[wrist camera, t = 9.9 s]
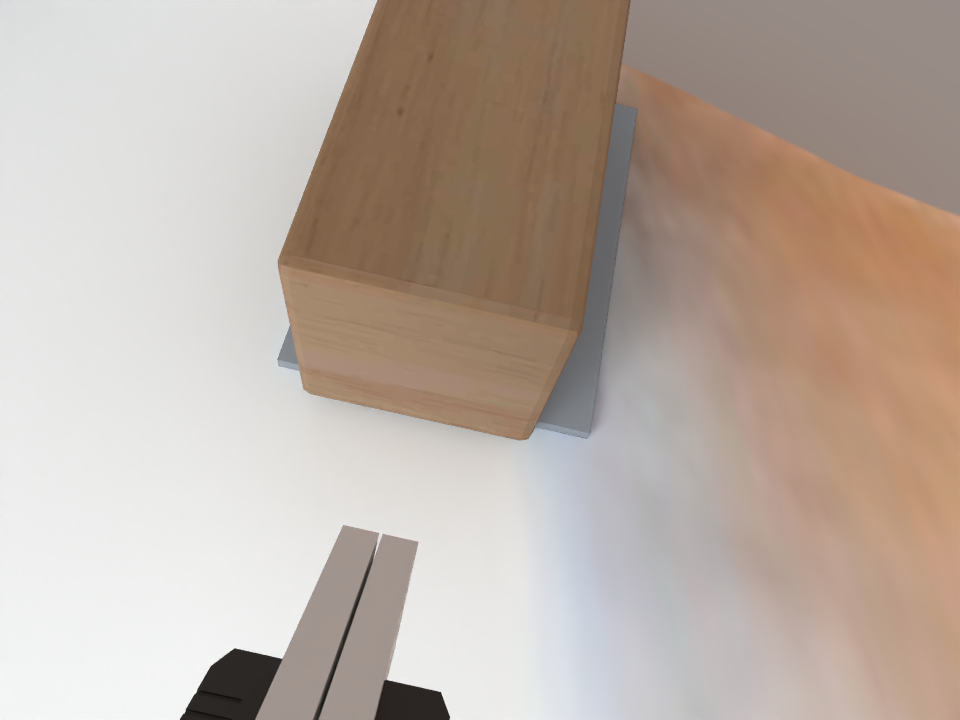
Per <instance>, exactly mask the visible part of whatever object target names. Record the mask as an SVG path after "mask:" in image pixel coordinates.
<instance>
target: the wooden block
mask: <svg viewBox="0 0 960 720" xmlns="http://www.w3.org/2000/svg"><path fill="white" fill-rule="evenodd" d="M629 7H630V0H378V1H377V3H376V6H375V8H374V11H373V14H372V16H371V19H370V21H369V24H368V27H367V29H366V32H365V34H364V37H363V40H362V42H361V45H360V48H359V50H358V53H357V55H356V58H355V61H354V63H353V66H352V68H351V71H350V74H349V76H348V79H347V81H346V84H345V87H344V89H343V92H342V94H341V97H340V100H339V102H338V105H337V107H336V110H335V113H334V115H333V118H332V121H331V123H330V126H329V128H328V131H327V134H326V136H325V139H324V141H323V144H322V147H321V149H320V152H319V154H318V157H317V160H316V162H315V165H314V167H313V170H312V173H311V175H310V178H309V180H308V183H307V186H306V188H305V191H304V194H303V196H302V199H301V201H300V204H299V207H298V209H297V212H296V214H295V217H294V220H293V222H292V225H291V227H290V230H289V233H288V235H287V238H286V240H285V243H284V246H283V248H282V251H281V254H280V256H279V259H278V268H279V274H280V279H281V283H282V288H283V293H284V298H285V303H286V307H287V312H288V317H289V322H290V326H291V331H292V336H293V341H294V346H295V350H296V355H297V360H298V365H299V370H300V374H301V379H302V384H303V389H304V390H306V391H307V392H309V393H310V394H314V395H318V396H323V397H327V398H332V399H336V400H341V401H345V402H350V403H354V404H359V405H363V406H368V407H372V408H377V409H381V410H385V411H390V412H394V413H399V414H403V415H408V416H412V417H417V418H421V419H426V420H430V421H435V422H439V423H444V424H448V425H453V426H457V427H462V428H466V429H471V430H475V431H480V432H484V433H489V434H493V435H498V436H502V437H507V438H511V439H516V440H526V439H528V438H529V437H530V435H531V434H532V432H533V430H534V428H535V426H536V424H537V422H538V420H539V418H540V416H541V414H542V412H543V410H544V408H545V406H546V404H547V402H548V400H549V398H550V396H551V394H552V391H553V389H554V387H555V385H556V383H557V381H558V379H559V377H560V375H561V373H562V371H563V369H564V367H565V365H566V363H567V361H568V359H569V357H570V355H571V353H572V351H573V348H574V346H575V344H576V342H577V340H578V338H579V336H580V334H581V332H582V330H583V324H584V317H585V311H586V304H587V297H588V290H589V283H590V276H591V269H592V262H593V255H594V249H595V242H596V235H597V228H598V221H599V214H600V207H601V200H602V193H603V186H604V180H605V173H606V166H607V159H608V152H609V145H610V138H611V131H612V124H613V118H614V111H615V104H616V97H617V90H618V83H619V76H620V69H621V62H622V55H623V49H624V42H625V35H626V28H627V21H628V13H629Z"/></svg>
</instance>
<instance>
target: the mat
mask: <svg viewBox="0 0 960 720" xmlns="http://www.w3.org/2000/svg"><path fill="white" fill-rule="evenodd" d="M636 115H637V109H636V108H632V107H628V106H624V105H620V104H615V111H614V118H613V124H612V131H611V138H610V145H609V152H608V159H607V166H606V173H605V180H604V186H603V193H602V200H601V207H600V214H599V221H598V228H597V235H596V242H595V249H594V255H593V262H592V269H591V276H590V283H589V290H588V297H587V304H586V311H585V317H584V324H583V330H582V332H581V334H580V336H579V338H578V340H577V342H576V344H575V346H574V348H573V351H572V353H571V355H570V357H569V359H568V361H567V363H566V365H565V367H564V369H563V371H562V373H561V375H560V377H559V379H558V381H557V383H556V385H555V387H554V389H553V391H552V394H551V396H550V398H549V400H548V402H547V404H546V406H545V408H544V410H543V412H542V414H541V416H540V418H539V420H538V422H537V424H536V427H540V428H544V429H548V430H553V431H557V432H561V433H565V434H570V435H574V436H578V437H582V438H586V439H587V438H588V436H589V435H590V431H591V425H592V418H593V411H594V404H595V397H596V390H597V383H598V376H599V370H600V363H601V356H602V349H603V342H604V335H605V328H606V321H607V315H608V308H609V301H610V294H611V287H612V280H613V273H614V266H615V260H616V253H617V246H618V239H619V232H620V225H621V218H622V211H623V205H624V198H625V191H626V184H627V177H628V170H629V163H630V156H631V150H632V143H633V136H634V129H635V122H636ZM277 360H278V364H279V366H282V367H286V368H291V369H295V370H299V365H298V360H297V355H296V350H295V346H294V341H293V336H292V331H291V326H290V327H289V330H288V332H287V335H286V338H285V340H284V343H283V346H282V349H281V351H280V354H279V357H278V359H277ZM299 371H300V370H299Z"/></svg>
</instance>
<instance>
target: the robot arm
mask: <svg viewBox="0 0 960 720" xmlns="http://www.w3.org/2000/svg"><path fill="white" fill-rule="evenodd" d="M378 536H379V533H376V532H372V531H367V530H363V529H358V528H354V527H349V526H345V525H343V527H342V529H341V531H340V534H339V536H338V538H337V540H336V543H335V545H334V547H333V549H332V551H331V554H330V556H329V558H328V560H327V562H326V565H325V567H324V569H323V571H322V573H321V576H320V578H319V580H318V582H317V584H316V587H315V589H314V591H313V593H312V596H311V598H310V600H309V602H308V604H307V607H306V609H305V611H304V613H303V615H302V618H301V620H300V622H299V624H298V626H297V629H296V631H295V633H294V635H293V637H292V640H291V642H290V644H289V646H288V648H287V651H286V653H285V655H284V657H283V659H280V658H276V657H271V656H267V655H262V654H258V653H253V652H249V651H244V650H240V649H235V648H234V649H233V650H232V651H230V652H229V653H228V654H226V655H225V656H224V657H222V658H221V659H220V660H218V661H217V662H216V663H214V664H213V665H212V666H211V667H210V669H209V670H208V672H207V674H206V676H205V677H204V679H203V681H202V682H201V684H200V686H199V688H198V689H197V693H196V694H195V695H194V696H193V698H192V700H191V701H190V703H189V705H188V707H187V708H186V712H185V714H183V715H182V717H181V719H180V720H450V716H449V713H448V710H447V708H446V705H445V702H444V699H443V697H442V694H441V692H438V691H433V690H429V689H424V688H420V687H415V686H411V685H406V684H402V683H397V682H393V681H388V680H387V677H388V673H389V669H390V665H391V661H392V657H393V653H394V649H395V644H396V640H397V635H398V631H399V626H400V622H401V618H402V613H403V609H404V604H405V600H406V595H407V591H408V586H409V582H410V577H411V573H412V568H413V564H414V559H415V555H416V550H417V546H418V542H416V541H412V540H407V539H403V538H398V537H394V536H389V535H385V534H383V535H382V538H381V541H380V544H379V547H378V549H377V552H376V555H375V550H376V545H377V540H378ZM374 555H375V558H374ZM373 560H374V561H373Z"/></svg>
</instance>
